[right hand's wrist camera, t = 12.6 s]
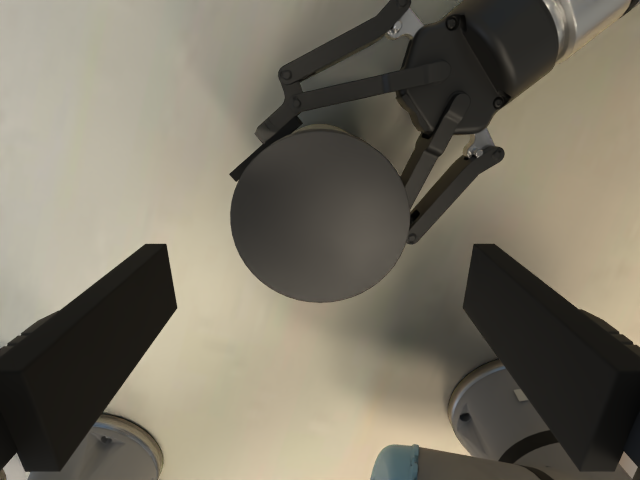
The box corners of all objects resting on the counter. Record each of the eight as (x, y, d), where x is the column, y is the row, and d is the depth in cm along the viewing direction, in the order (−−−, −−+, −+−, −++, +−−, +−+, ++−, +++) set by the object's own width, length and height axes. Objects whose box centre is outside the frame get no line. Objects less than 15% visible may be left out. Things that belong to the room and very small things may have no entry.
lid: (431, 228, 21) (443, 241, 19) (306, 310, 23) (304, 330, 21) (337, 89, 18) (340, 87, 16) (205, 197, 21) (192, 208, 18)
